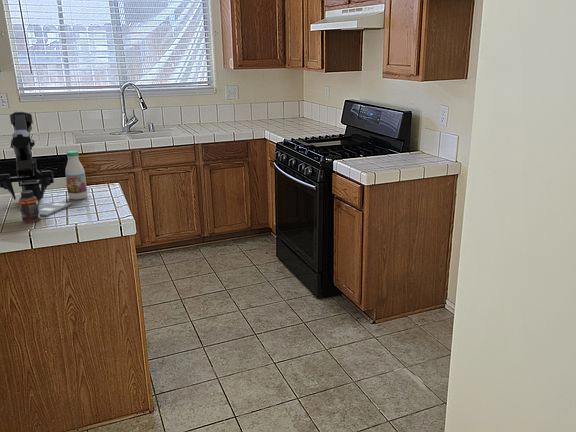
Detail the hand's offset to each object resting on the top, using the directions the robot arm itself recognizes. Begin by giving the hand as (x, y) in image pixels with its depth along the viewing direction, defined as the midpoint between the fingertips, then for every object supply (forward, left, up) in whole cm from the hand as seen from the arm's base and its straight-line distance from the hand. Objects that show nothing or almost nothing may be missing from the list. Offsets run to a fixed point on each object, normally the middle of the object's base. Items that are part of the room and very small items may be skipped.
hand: (28, 198), depth 191 cm
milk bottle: (+1, +28, -8) cm, 29 cm away
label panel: (+1, +9, -7) cm, 12 cm away
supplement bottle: (+3, -4, -8) cm, 9 cm away
